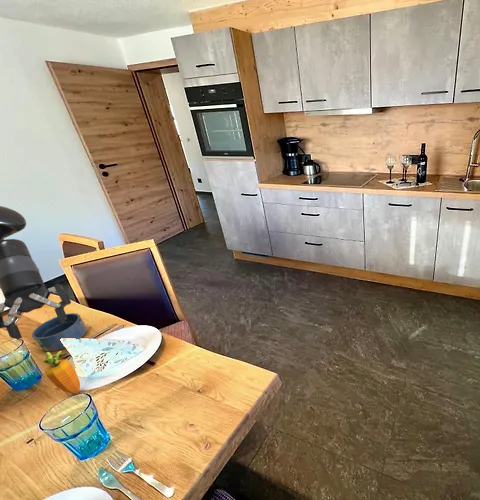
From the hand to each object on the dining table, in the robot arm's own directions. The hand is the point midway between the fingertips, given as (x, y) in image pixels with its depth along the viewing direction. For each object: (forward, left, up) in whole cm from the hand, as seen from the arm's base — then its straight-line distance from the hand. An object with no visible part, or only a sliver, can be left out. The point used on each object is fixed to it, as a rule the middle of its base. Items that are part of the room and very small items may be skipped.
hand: (41, 329), depth 75 cm
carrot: (+2, -7, -19) cm, 20 cm away
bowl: (-8, +22, -18) cm, 30 cm away
